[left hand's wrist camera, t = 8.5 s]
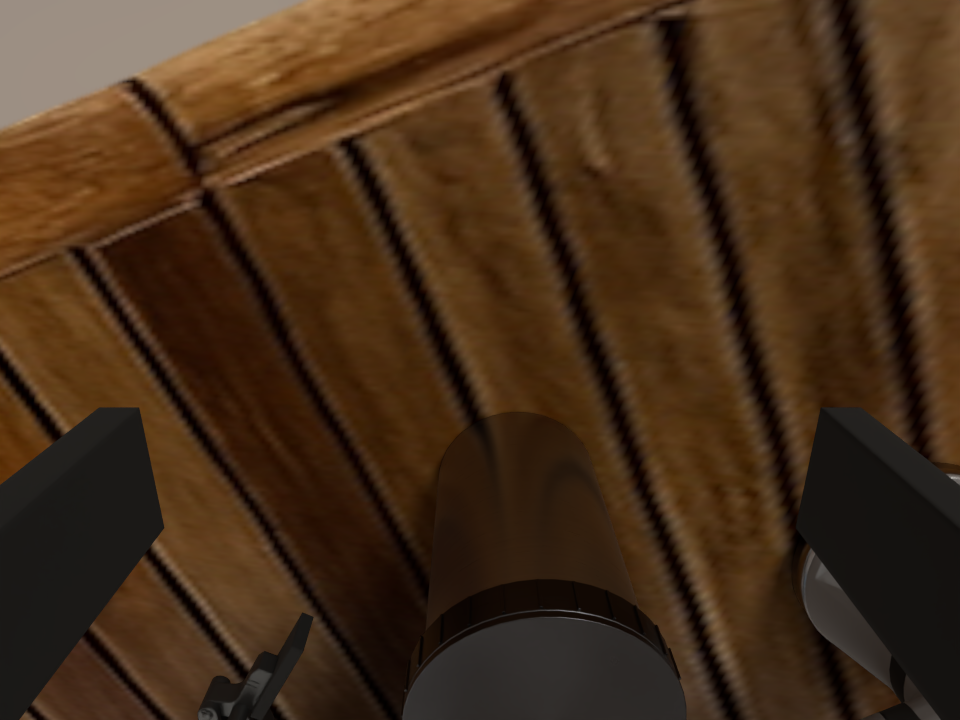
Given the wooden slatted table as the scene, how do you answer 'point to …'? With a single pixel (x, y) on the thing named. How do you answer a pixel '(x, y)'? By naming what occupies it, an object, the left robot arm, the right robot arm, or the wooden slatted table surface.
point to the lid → (543, 658)
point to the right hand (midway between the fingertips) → (403, 670)
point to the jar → (520, 513)
